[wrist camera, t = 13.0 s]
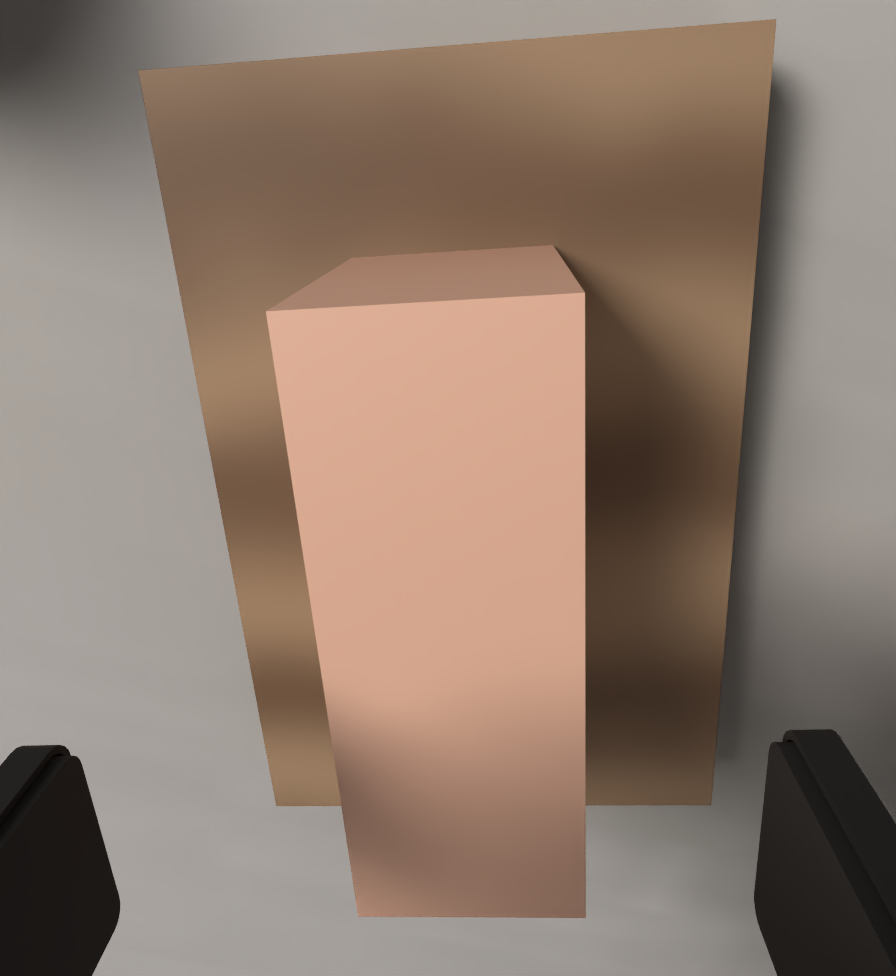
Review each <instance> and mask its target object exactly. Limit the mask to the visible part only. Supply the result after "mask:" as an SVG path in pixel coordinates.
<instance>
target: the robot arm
mask: <svg viewBox="0 0 896 976" xmlns="http://www.w3.org/2000/svg"><path fill="white" fill-rule="evenodd" d="M754 903H755V911H756V916H757V920H758V924H759V927H760V930H761V933H762V935H763V938H764V941H765V943H766V946H767V949H768V951H769V954H770V957H771V960H772V962H773V965H774V968H775V970H776V973H777V976H896V824H895V822H894V820H893V819H892V817H891V816H890V814H889V813H888V811H887V810H886V808H885V806H884V805H883V803H882V802H881V800H880V799H879V797H878V796H877V794H876V792H875V791H874V789H873V788H872V786H871V785H870V783H869V782H868V780H867V778H866V777H865V775H864V774H863V772H862V771H861V769H860V768H859V766H858V764H857V763H856V761H855V760H854V758H853V757H852V755H851V754H850V752H849V750H848V749H847V747H846V746H845V744H844V743H843V741H842V739H841V738H840V737H839V735H838V734H837V733H836V732H835V731H833V730H831V729H829V730H789V731H786V732H785V734H784V736H783V741H782V742H773V743H772V744H771V745H770V749H769V756H768V766H767V776H766V785H765V795H764V804H763V814H762V824H761V833H760V843H759V852H758V862H757V872H756V881H755V891H754ZM119 913H120V899H119V894H118V891H117V887H116V884H115V880H114V877H113V873H112V870H111V866H110V863H109V859H108V855H107V852H106V848H105V845H104V841H103V838H102V834H101V831H100V827H99V824H98V820H97V816H96V813H95V809H94V806H93V802H92V799H91V795H90V792H89V788H88V785H87V781H86V778H85V774H84V770H83V767H82V764H81V761H80V759H79V758H78V757H77V756H71V755H70V752H69V750H68V749H67V748H66V747H65V746H61V745H41V746H21V747H18V748H16V749H15V750H14V751H13V752H12V753H11V754H10V755H9V756H8V757H7V758H6V760H5V761H4V762H3V763H2V764H1V766H0V976H92V974H93V972H94V970H95V968H96V966H97V964H98V962H99V960H100V958H101V956H102V954H103V952H104V950H105V948H106V946H107V944H108V942H109V940H110V938H111V936H112V934H113V932H114V930H115V928H116V925H117V922H118V919H119Z"/></svg>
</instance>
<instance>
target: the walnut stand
mask: <svg viewBox="0 0 896 976" xmlns="http://www.w3.org/2000/svg"><path fill="white" fill-rule="evenodd" d="M775 29H776V19H774V20H761V21H749V22H736V23H724V24H711V25H699V26H686V27H674V28H662V29H649V30H637V31H624V32H612V33H599V34H587V35H574V36H562V37H549V38H537V39H524V40H512V41H500V42H487V43H475V44H462V45H450V46H437V47H425V48H412V49H400V50H387V51H375V52H362V53H350V54H338V55H325V56H313V57H300V58H288V59H275V60H263V61H250V62H238V63H225V64H213V65H201V66H188V67H176V68H163V69H151V70H138V72H139V78H140V83H141V88H142V94H143V99H144V104H145V109H146V115H147V120H148V125H149V131H150V136H151V141H152V147H153V152H154V157H155V163H156V168H157V173H158V179H159V184H160V189H161V195H162V200H163V205H164V211H165V216H166V221H167V227H168V232H169V237H170V243H171V248H172V253H173V258H174V264H175V269H176V274H177V280H178V285H179V290H180V296H181V301H182V306H183V312H184V317H185V322H186V328H187V333H188V338H189V344H190V349H191V354H192V360H193V365H194V370H195V376H196V381H197V386H198V392H199V397H200V402H201V407H202V413H203V418H204V423H205V429H206V434H207V439H208V445H209V450H210V455H211V461H212V466H213V471H214V477H215V482H216V487H217V493H218V498H219V503H220V509H221V514H222V519H223V525H224V530H225V535H226V540H227V546H228V551H229V556H230V562H231V567H232V572H233V578H234V583H235V588H236V594H237V599H238V604H239V610H240V615H241V620H242V626H243V631H244V636H245V642H246V647H247V652H248V658H249V663H250V668H251V674H252V679H253V684H254V689H255V695H256V700H257V705H258V711H259V716H260V721H261V727H262V732H263V737H264V743H265V748H266V753H267V759H268V764H269V769H270V775H271V780H272V785H273V791H274V796H275V801H276V806H341V800H340V793H339V787H338V780H337V774H336V767H335V760H334V754H333V747H332V741H331V734H330V728H329V721H328V715H327V708H326V702H325V695H324V689H323V682H322V675H321V669H320V662H319V656H318V649H317V643H316V636H315V630H314V623H313V617H312V610H311V603H310V597H309V590H308V584H307V577H306V571H305V564H304V558H303V551H302V545H301V538H300V532H299V525H298V518H297V512H296V505H295V499H294V492H293V486H292V479H291V473H290V466H289V460H288V453H287V447H286V440H285V433H284V427H283V420H282V414H281V407H280V401H279V394H278V388H277V381H276V375H275V368H274V362H273V355H272V348H271V342H270V335H269V329H268V322H267V316H266V311H267V310H269V309H270V308H272V307H274V306H275V305H277V304H278V303H280V302H282V301H283V300H285V299H286V298H288V297H290V296H291V295H293V294H294V293H296V292H298V291H299V290H301V289H303V288H304V287H306V286H307V285H309V284H311V283H312V282H314V281H315V280H317V279H319V278H320V277H322V276H323V275H325V274H327V273H328V272H330V271H331V270H333V269H335V268H336V267H338V266H339V265H341V264H343V263H344V262H346V261H347V260H349V259H351V258H358V257H374V256H390V255H405V254H421V253H437V252H453V251H468V250H484V249H500V248H515V247H531V246H547V245H553V246H554V247H555V249H556V250H557V252H558V253H559V255H560V256H561V258H562V259H563V261H564V262H565V264H566V265H567V267H568V268H569V270H570V271H571V273H572V274H573V276H574V277H575V279H576V280H577V282H578V283H579V284H580V286H581V287H582V289H583V290H584V292H585V805H711V800H712V788H713V776H714V764H715V752H716V740H717V728H718V716H719V704H720V692H721V680H722V668H723V656H724V644H725V632H726V619H727V607H728V595H729V583H730V571H731V559H732V547H733V535H734V523H735V511H736V499H737V487H738V475H739V463H740V451H741V439H742V427H743V415H744V403H745V391H746V379H747V366H748V354H749V342H750V330H751V318H752V306H753V294H754V282H755V270H756V258H757V246H758V234H759V222H760V210H761V198H762V186H763V174H764V162H765V150H766V138H767V126H768V113H769V101H770V89H771V77H772V65H773V53H774V41H775Z"/></svg>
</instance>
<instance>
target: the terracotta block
mask: <svg viewBox="0 0 896 976" xmlns="http://www.w3.org/2000/svg"><path fill="white" fill-rule="evenodd" d="M266 316H267V322H268V329H269V335H270V342H271V348H272V355H273V362H274V368H275V375H276V381H277V388H278V394H279V401H280V407H281V414H282V420H283V427H284V433H285V440H286V447H287V453H288V460H289V466H290V473H291V479H292V486H293V492H294V499H295V505H296V512H297V518H298V525H299V532H300V538H301V545H302V551H303V558H304V564H305V571H306V577H307V584H308V590H309V597H310V603H311V610H312V617H313V623H314V630H315V636H316V643H317V649H318V656H319V662H320V669H321V675H322V682H323V689H324V695H325V702H326V708H327V715H328V721H329V728H330V734H331V741H332V747H333V754H334V760H335V767H336V774H337V780H338V787H339V793H340V800H341V806H342V813H343V819H344V826H345V832H346V839H347V845H348V852H349V859H350V865H351V872H352V878H353V885H354V891H355V898H356V904H357V911H358V917H518V918H586V824H585V292H584V290H583V289H582V287H581V286H580V284H579V283H578V282H577V280H576V279H575V277H574V276H573V274H572V273H571V271H570V270H569V268H568V267H567V265H566V264H565V262H564V261H563V259H562V258H561V256H560V255H559V253H558V252H557V250H556V249H555V247H554V246H553V245H547V246H531V247H515V248H500V249H484V250H468V251H453V252H437V253H421V254H405V255H390V256H374V257H358V258H351V259H349V260H347V261H346V262H344V263H343V264H341V265H339V266H338V267H336V268H335V269H333V270H331V271H330V272H328V273H327V274H325V275H323V276H322V277H320V278H319V279H317V280H315V281H314V282H312V283H311V284H309V285H307V286H306V287H304V288H303V289H301V290H299V291H298V292H296V293H294V294H293V295H291V296H290V297H288V298H286V299H285V300H283V301H282V302H280V303H278V304H277V305H275V306H274V307H272V308H270V309H269V310H267V311H266Z"/></svg>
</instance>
